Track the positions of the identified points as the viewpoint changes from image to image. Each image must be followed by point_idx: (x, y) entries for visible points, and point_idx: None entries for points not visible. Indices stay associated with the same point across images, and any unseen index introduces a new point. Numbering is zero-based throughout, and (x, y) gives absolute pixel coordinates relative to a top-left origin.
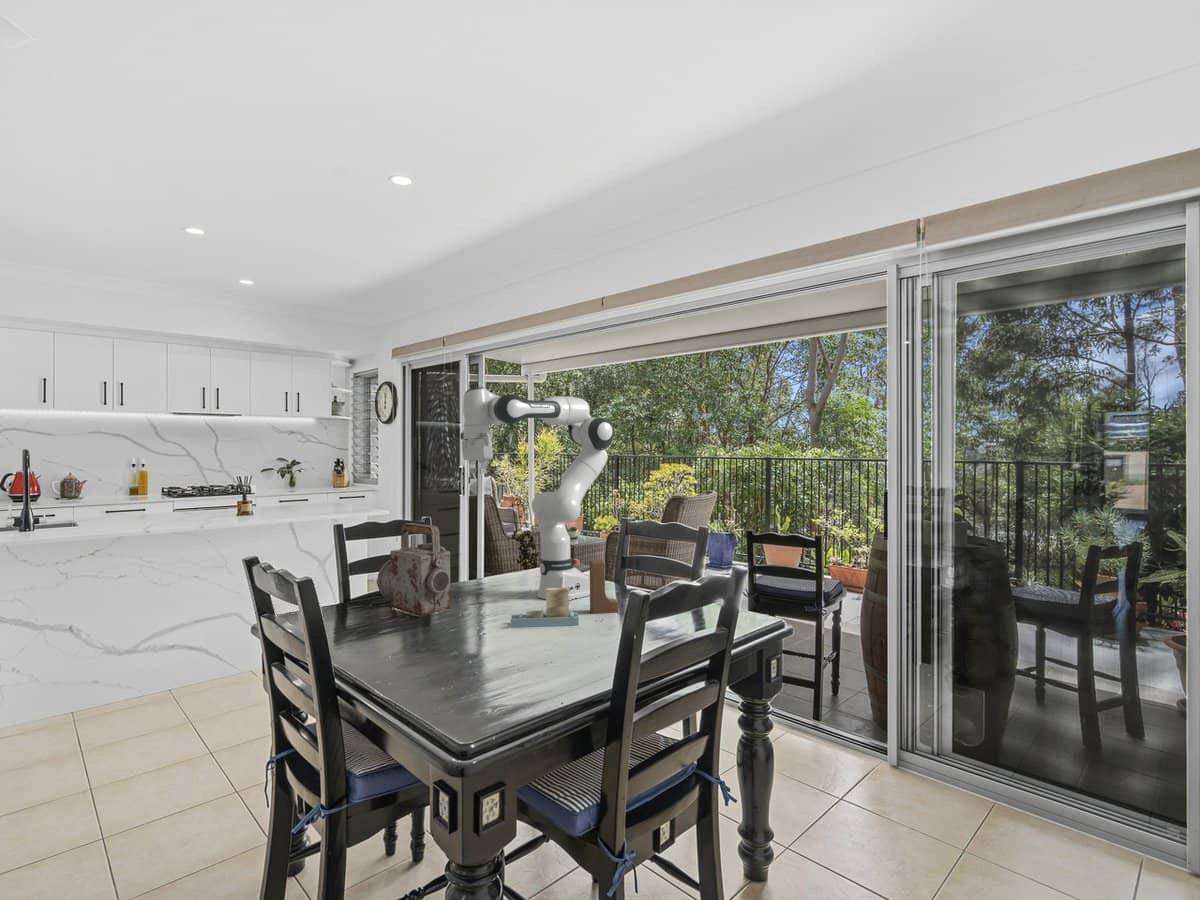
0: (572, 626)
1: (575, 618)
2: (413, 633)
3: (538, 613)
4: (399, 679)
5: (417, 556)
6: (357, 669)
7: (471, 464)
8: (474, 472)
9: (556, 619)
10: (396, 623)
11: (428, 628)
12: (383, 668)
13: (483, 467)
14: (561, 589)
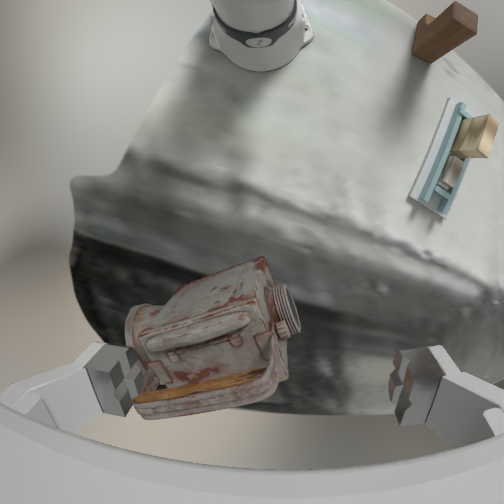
0: None
1: None
2: (363, 340)
3: (460, 169)
4: (484, 369)
5: (279, 381)
6: None
7: (60, 419)
8: (135, 363)
9: None
10: (296, 350)
11: (353, 317)
12: None
13: (462, 406)
14: (495, 133)
